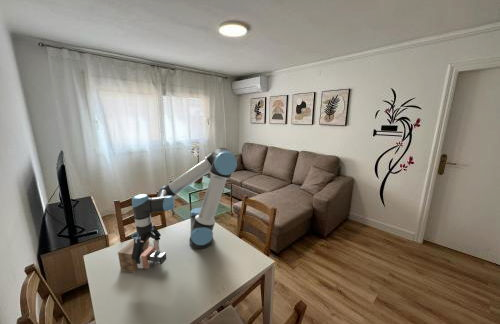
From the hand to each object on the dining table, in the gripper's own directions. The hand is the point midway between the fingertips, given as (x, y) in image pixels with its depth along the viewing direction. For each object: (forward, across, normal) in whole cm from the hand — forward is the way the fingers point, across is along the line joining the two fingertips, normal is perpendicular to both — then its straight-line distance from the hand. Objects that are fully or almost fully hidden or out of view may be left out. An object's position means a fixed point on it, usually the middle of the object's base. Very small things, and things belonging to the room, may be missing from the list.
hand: (149, 258), depth 110 cm
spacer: (+3, 0, -1) cm, 3 cm away
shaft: (+1, 0, 0) cm, 1 cm away
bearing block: (+4, 0, -9) cm, 10 cm away
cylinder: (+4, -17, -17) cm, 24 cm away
